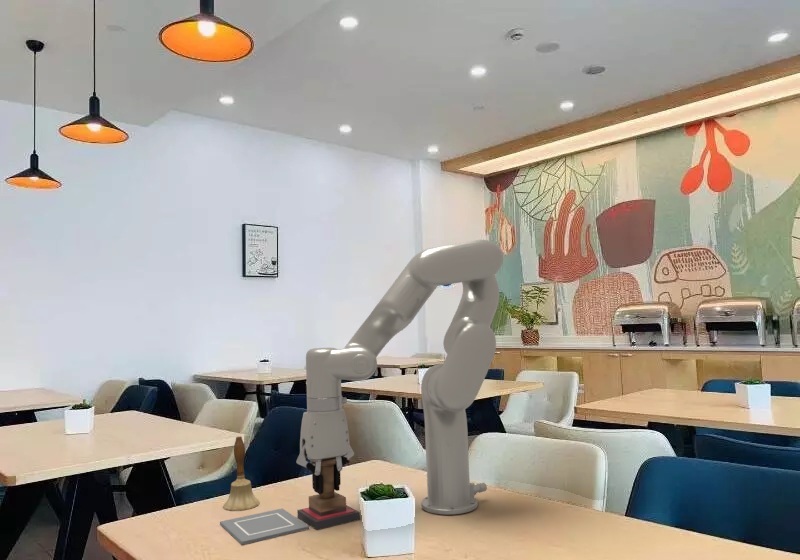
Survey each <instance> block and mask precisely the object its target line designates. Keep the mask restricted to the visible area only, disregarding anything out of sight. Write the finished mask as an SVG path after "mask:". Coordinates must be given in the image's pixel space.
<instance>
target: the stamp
mask: <svg viewBox="0 0 800 560" xmlns="http://www.w3.org/2000/svg"><path fill="white" fill-rule="evenodd" d="M334 464H336V459H335V458H329V459H323V460H321V469H320V474H321V475H323V493H322V494H318V493H316V494H313V495H309V496H308V508H309V510H311V511H312V512H314V513H316V514H317V515H319V516H325V515H329V514H334V513H338V512H343V511H346V505H347V497H346V496H344V495H342V494H341V493H338V492H336V491H335V490H334Z"/></svg>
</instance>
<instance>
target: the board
mask: <svg viewBox="0 0 800 560" xmlns="http://www.w3.org/2000/svg"><path fill="white" fill-rule="evenodd" d="M219 525H220V526H221V527H222V528H223V529H224V530H225V531H226V532H227V533H229V535H230V536H232V537H233V539H235V540H236V541H237V542H238V543H239V544H240V545H241V546H244V545H248V544H252V543H253V544H254V543H257V542H261V541H265V540H269V539H274V538H278V537H283V536H286V535H290V534H294V533H299V532H302V531H308V530H310V525H308V524H307V523H305V522H304V521H302V520H301V519H299V518H298V517H296V516H295V515H293V514H291V513H290V512H289V511H287V510H285V509H284V508H278V509H277V508H276V509H273V510H268V511H264V512H259V513H254V514H250V515H245V516H240V517H235V518H231V519H226V520H220V521H219Z"/></svg>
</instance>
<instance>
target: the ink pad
mask: <svg viewBox="0 0 800 560" xmlns="http://www.w3.org/2000/svg"><path fill="white" fill-rule="evenodd" d="M296 513H297V518H298V519H299V520H301V521H302V522H304V523H305V524H307V525H308V526H309V527H312V528H313V529H315V530H316V531H318V530H322V529H327V528H331V527H335V526H339V525H343V524H348V523H352V522H356V521H360V520H361V514H360V513H361V512H360V511H359V510H357V509H355V508H353V507H351V506H349V505H347V504H346V511H343V512H338V513H334V514H329V515H325V516H319V515H317V514H316V513H314V512H312V511H311V510H309V507H305V508H301V509H297V512H296Z"/></svg>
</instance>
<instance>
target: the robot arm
mask: <svg viewBox="0 0 800 560" xmlns="http://www.w3.org/2000/svg"><path fill="white" fill-rule="evenodd" d="M503 257H504V256H503V252H502V249H501V248H500V247H499V246H498V244H496V243H494V241H492V240H488V239H478V240H471V241H465V242H460V243H455V244H448V245H447V244H446V245H442V246H435V247H429V248H426V249H423V250H422V251H420V252H418V253H416V254H415V255H414V256H413V257H412V258H411V259H410V261H409V262H408V263H407V264H406V266H405V267H404V268H403V269H402V271H401V273H400V274H399V275H398V276H397V278H396V279H395V280H394V282H393V283H392V284H391V286H390V287H389V289H387V291H386V292H385V293H384V295H383V296H382V297H381V299H380V300H379V301H378V303H377V304H376V306H375V307H374V308H373V310H372V311H371V312H370V313H369V315H368V316H367V318H366V319H365V320H364V321H363V323H361V325H360V326H359V328H358V329H357V330H356V331H355V333H354V335H353V336H351V338H350V340H349V341H348V342H347V344H346V345H345V346H344V348H335V347H318V348H317V347H315V348H311V349H308V350H307V351H306V355H305V368H306V369H305V372H306V374H305V375H306V377H305V378H306V411H304V412H303V413H302V414H303V415H302V419H301V426H300V437H299V438H300V439H299V455H298V456H297V459H296V464H297V465H299V466H301V467H304V468H305V469H307V470H308V471H309V472H310V473H311V476H312V478H311V479H312V480H311V482H312V489H313V490H314V492H315V493H316V494H322V493H323V475H321V474H320V469H321V460H323V459H329V458H335V459H336V464H334V491H335V492H336V491H340V486H341V481H342V480H341V472H342V471H343V467H344V466H345V464H346V463H347V462H348V461H349V460H350V459H352V457H353V456H355V452H354V450H353V448H352V446H351V445H350V434H349V433H350V431H349V425H348V419H347V416H346V412H345V409H343V405H344V404H347V403H348V402H347V401H348V399H347V397H346V396H345V397H343V395H342V380H344V381H346V380H347V381H354V382H355V381H356V382H357V381H358V382H360V381H361V382H362V381H365V380H368V379H370V378H371V377H372V376H373V375H374V373H375V372H376V370H377V367H378V361H377V357H378V356H379V354H380V353H381V352H382V350H383V349H384V348H385V347H386V346H387V344H388V343H389V342H390V341H391V340H392V339H393V338H394V337H395V336H396V335H397V334H399V333H400V332H401V331H403V330H405V329H406V328H407V327H408V326H409V325H410V324H411V323H412V321H413V320H414V319H415V317H416V316H417V315H418V313H419V312H420V311H421V309H422V308H423V307H424V305H425V303H427V301H428V300H429V298H430V297H431V296H432V295H433V293H434V292H435V290H436V289H437V288H438V287H439V286H447V285H453V284H459V283H461V284H462V294H461V298H460V300H459V304H458V306H457V309H456V311H455V312H454V315H453V318H452V320H451V322H450V323H449V325H448V328H447V330H446V332H445V334H444V336H443V350H444V352H445V353H446V356H445V359H444V360H443V363H437V364H434V365H432V366H431V367H429V368H428V369H427V370H426V371H425V373H424V374H423V376H422V380H421V384H420V388H421V389H420V390H421V391H420V392H421V401H422V408H423V416H424V433H425V435H424V438H425V439H424V440H425V441H424V442H425V456H426V457H425V458H426V459H425V462H426V463H425V464H426V484H427V487H426V488H427V489H426V490H427V496H426V497H423V498H422V500H421V502H420V507H421V509H423V510H424V511H426V512H428V513H431V514H435V515H444V516H445V515H446V516H447V515H451V516H452V515H460V514H461V515H462V514H467V513H468V512H473V511H474V510H476V509H477V507H478V506H479V505H478V499H477V498H476V497H475V496H476V495H477V494H479V493H483V492H486V491H487V490H488V486H487V484H486V483H485V482H481V483H480V482H479V483H477V484H475V483H474V482H470V480H471V479H470V464H469V463H470V460H469V458H470V457H469V441H468V440H469V439H468V435H469V434H468V420H467V419H468V418H467V413H466V409H468V408H469V407H470V406H471V405H472V404H473V402H474V401H475V399H476V398H477V396H478V394H479V392H480V390H481V388H482V386H483V383H484V381H485V378H486V377H487V375H488V371H489V370H490V366H491V364H492V362H493V359H494V356H495V354H496V350H497V349H496V348H497V339H496V335H495V332H494V331H493V329H492V328H491V325H492V322H493V320H494V317H495V314H496V311H497V309H498V306H499V302H500V289H499V284H498V281H497V280H498V279H497V277H496V274H498V272H499V271H500V270H501V268H502V266H503V260H504V258H503ZM306 459H308V460H309V461H310V462H309V461H308V460H306Z"/></svg>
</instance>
